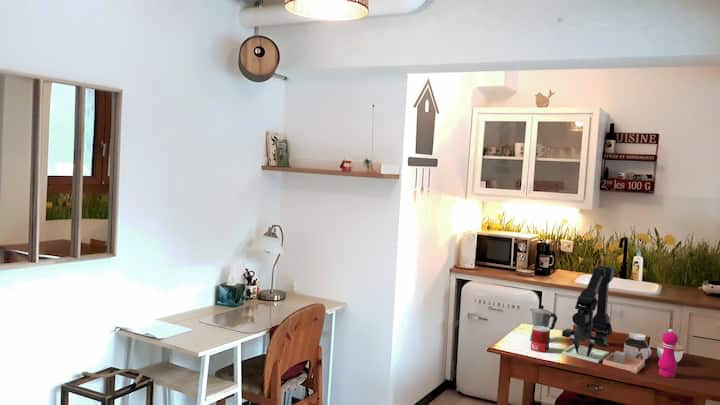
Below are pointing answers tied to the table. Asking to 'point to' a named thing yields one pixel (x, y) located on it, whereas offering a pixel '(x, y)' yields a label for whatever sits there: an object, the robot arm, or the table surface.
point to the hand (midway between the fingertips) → (582, 355)
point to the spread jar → (637, 346)
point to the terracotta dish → (625, 363)
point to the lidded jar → (677, 352)
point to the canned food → (540, 339)
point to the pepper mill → (668, 355)
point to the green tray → (594, 356)
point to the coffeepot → (542, 318)
